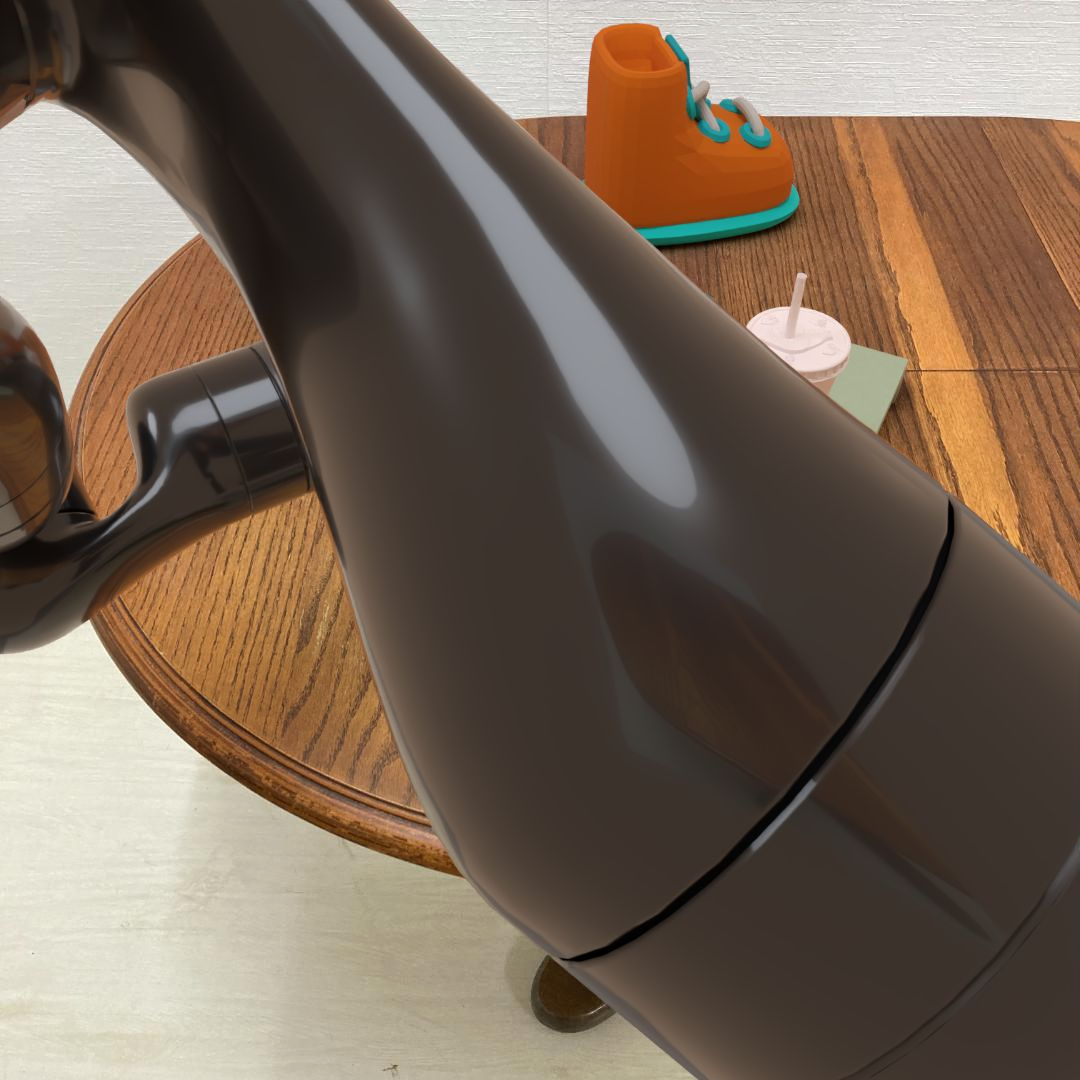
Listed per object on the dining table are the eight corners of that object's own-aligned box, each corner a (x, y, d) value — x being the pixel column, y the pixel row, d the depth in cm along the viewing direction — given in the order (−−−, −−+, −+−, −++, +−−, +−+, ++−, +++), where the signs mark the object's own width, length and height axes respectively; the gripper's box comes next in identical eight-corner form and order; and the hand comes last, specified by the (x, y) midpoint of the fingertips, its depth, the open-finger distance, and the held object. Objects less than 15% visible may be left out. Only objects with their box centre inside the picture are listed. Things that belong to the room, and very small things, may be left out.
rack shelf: (828, 553, 71) (838, 521, 69) (669, 498, 75) (673, 466, 72) (899, 391, 82) (909, 359, 80) (757, 349, 85) (763, 317, 83)
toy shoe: (815, 232, 96) (851, 61, 85) (597, 261, 93) (605, 88, 82) (764, 163, 104) (792, -2, 93) (562, 188, 101) (565, 20, 90)
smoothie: (713, 426, 75) (742, 246, 65) (806, 419, 75) (849, 240, 65) (735, 493, 71) (770, 312, 60) (833, 485, 71) (884, 305, 61)
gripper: (434, 412, 44) (758, 288, 49) (295, 241, 52) (587, 151, 58) (447, 540, 49) (737, 416, 55) (320, 367, 58) (583, 274, 63)
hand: (660, 280), depth 56 cm, fingers open, 8 cm apart
